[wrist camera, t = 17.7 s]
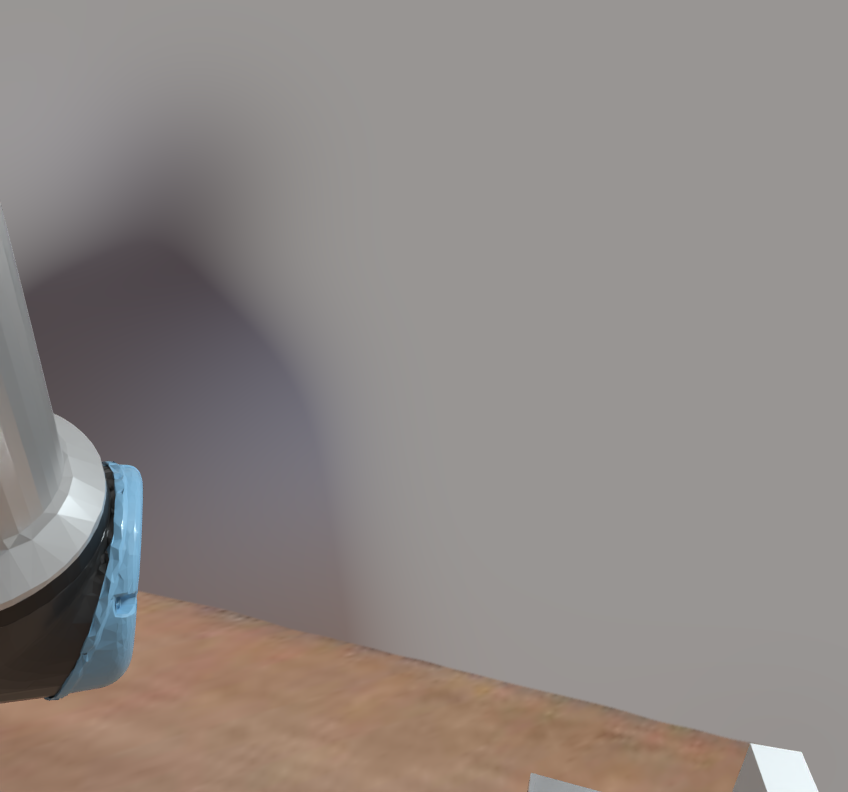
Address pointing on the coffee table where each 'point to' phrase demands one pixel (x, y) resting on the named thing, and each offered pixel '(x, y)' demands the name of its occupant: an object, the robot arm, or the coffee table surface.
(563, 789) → the grey link plate
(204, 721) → the coffee table surface
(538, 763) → the coffee table surface
